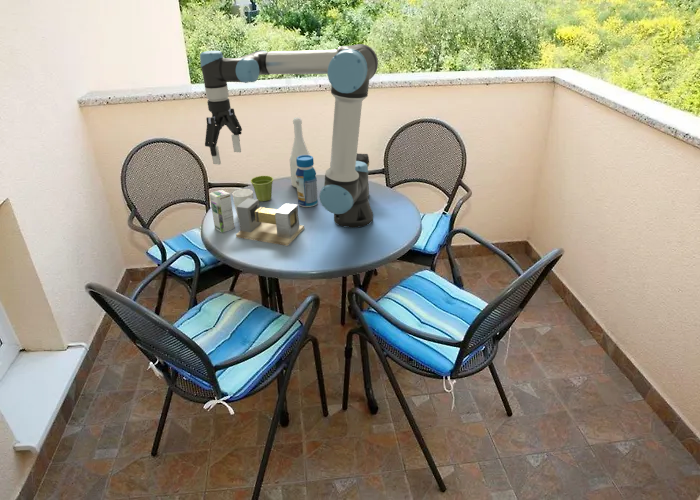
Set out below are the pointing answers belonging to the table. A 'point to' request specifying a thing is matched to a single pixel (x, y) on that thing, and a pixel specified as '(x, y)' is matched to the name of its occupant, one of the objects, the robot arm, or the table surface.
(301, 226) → the board
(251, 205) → the socket
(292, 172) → the wine bottle
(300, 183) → the beverage bottle
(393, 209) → the table surface
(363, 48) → the robot arm
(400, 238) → the table surface
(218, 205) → the syrup box
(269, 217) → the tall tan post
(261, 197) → the plant pot
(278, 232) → the grey rectangular block
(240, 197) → the white cup
